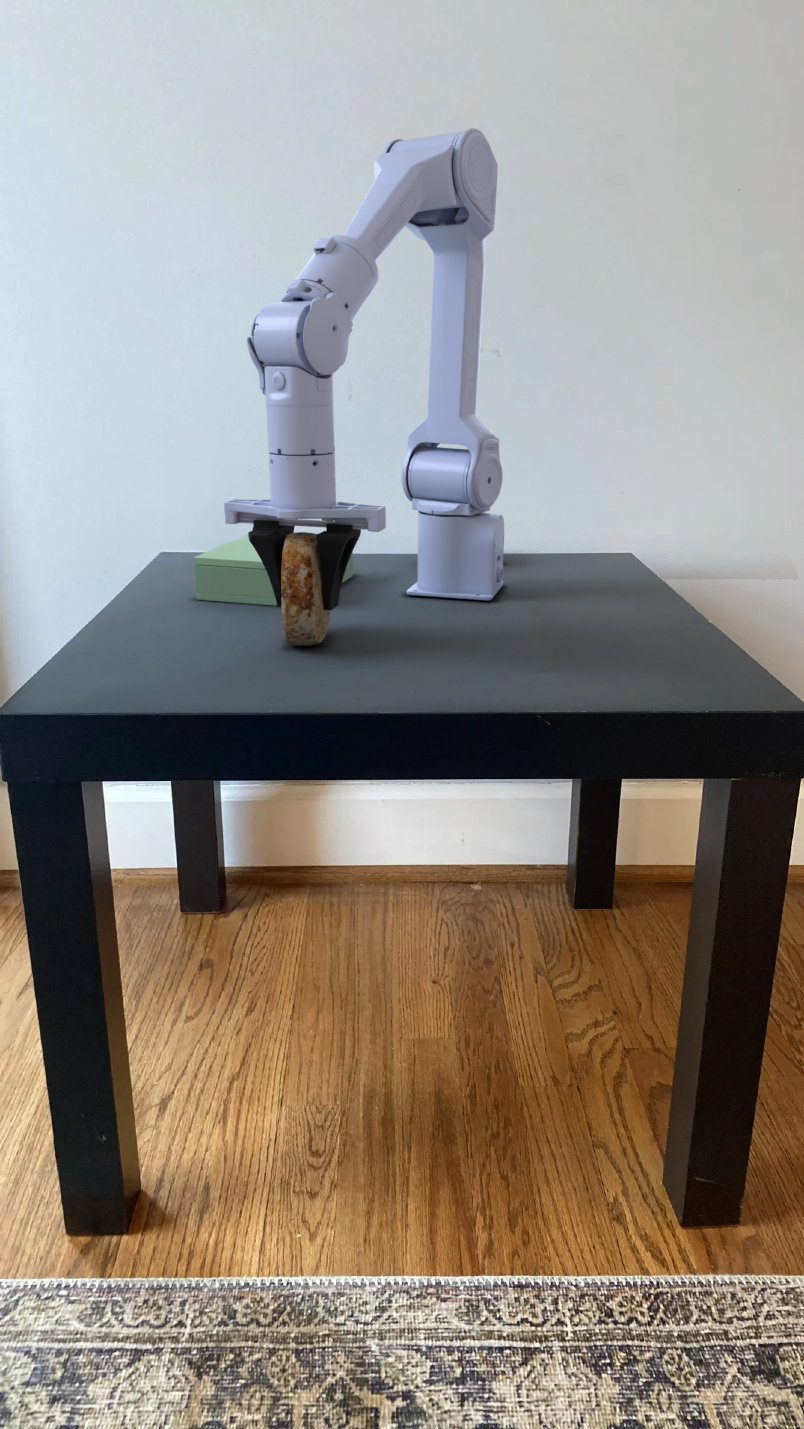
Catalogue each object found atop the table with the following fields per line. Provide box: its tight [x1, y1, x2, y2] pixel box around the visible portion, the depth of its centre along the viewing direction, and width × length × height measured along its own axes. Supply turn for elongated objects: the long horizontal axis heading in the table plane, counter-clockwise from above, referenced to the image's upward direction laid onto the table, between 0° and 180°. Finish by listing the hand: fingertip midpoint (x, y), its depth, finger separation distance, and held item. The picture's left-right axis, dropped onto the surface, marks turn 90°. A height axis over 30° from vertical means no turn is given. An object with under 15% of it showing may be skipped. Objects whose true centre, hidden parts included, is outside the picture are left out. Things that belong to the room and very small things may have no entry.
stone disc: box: [280, 531, 331, 647], centre depth 85 cm, size 10×4×10 cm, turn 175°
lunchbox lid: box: [193, 534, 265, 569], centre depth 106 cm, size 13×16×1 cm
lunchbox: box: [193, 552, 354, 607], centre depth 106 cm, size 13×16×4 cm
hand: (307, 605), depth 86 cm, fingers closed on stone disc, 4 cm apart
